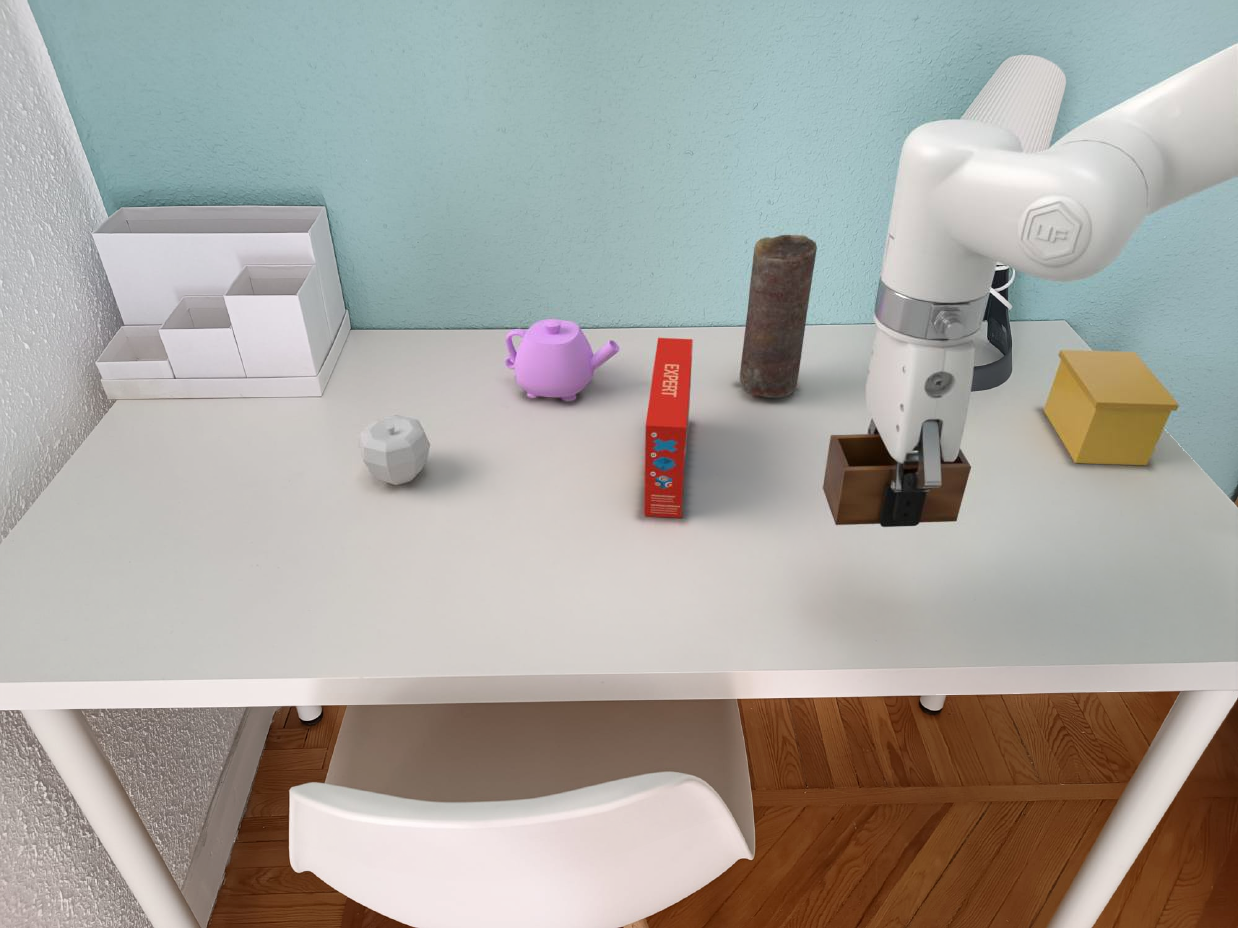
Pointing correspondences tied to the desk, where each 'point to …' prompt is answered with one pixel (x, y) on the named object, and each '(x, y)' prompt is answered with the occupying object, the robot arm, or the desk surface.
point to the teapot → (555, 359)
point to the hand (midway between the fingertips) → (888, 500)
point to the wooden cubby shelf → (883, 481)
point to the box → (1108, 407)
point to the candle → (777, 314)
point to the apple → (394, 449)
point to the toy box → (667, 428)
